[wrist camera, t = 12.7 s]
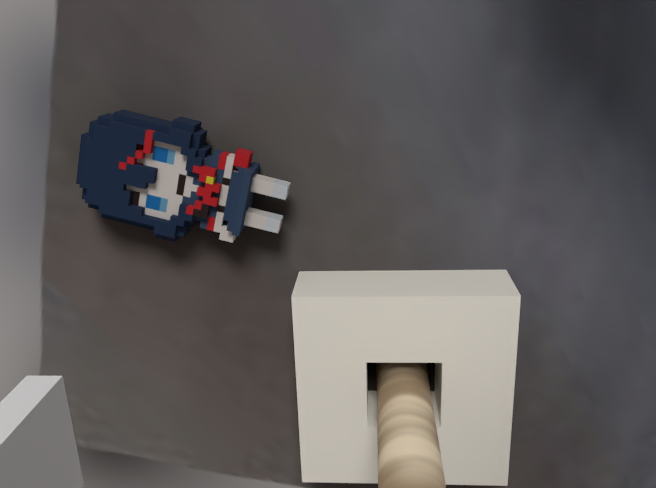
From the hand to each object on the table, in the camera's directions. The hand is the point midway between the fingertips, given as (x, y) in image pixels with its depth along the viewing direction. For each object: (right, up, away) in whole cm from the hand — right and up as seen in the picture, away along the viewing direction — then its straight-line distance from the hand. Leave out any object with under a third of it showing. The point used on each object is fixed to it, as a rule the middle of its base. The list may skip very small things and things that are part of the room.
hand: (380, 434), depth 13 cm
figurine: (-11, +9, +35) cm, 38 cm away
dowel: (+5, -6, +38) cm, 39 cm away
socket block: (+5, -6, +38) cm, 39 cm away
